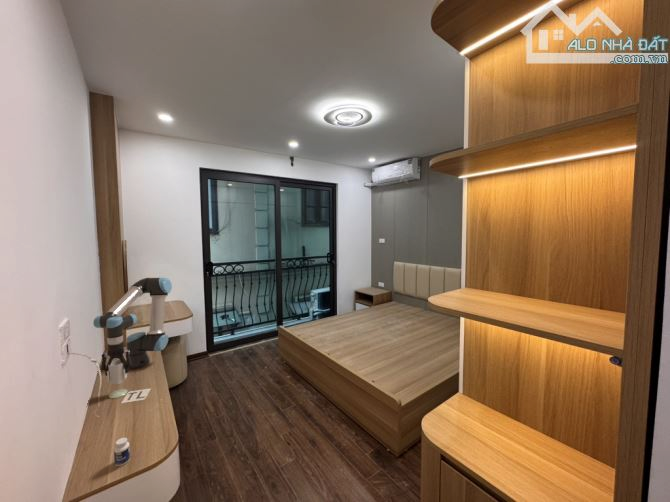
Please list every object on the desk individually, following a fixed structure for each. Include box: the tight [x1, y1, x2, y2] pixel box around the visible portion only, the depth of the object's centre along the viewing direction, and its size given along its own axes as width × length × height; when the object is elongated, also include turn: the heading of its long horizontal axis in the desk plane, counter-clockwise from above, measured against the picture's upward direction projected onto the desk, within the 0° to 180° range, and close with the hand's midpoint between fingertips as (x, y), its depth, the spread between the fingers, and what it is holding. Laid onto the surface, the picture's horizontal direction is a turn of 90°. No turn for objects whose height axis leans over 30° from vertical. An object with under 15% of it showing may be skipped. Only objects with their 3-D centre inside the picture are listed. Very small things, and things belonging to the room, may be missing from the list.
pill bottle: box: [113, 437, 131, 467], centre depth 120 cm, size 5×5×10 cm
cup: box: [107, 359, 125, 386], centre depth 168 cm, size 8×8×12 cm
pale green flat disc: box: [108, 388, 129, 400], centre depth 169 cm, size 9×9×1 cm
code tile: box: [120, 388, 152, 404], centre depth 168 cm, size 12×12×1 cm
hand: (117, 379), depth 168 cm, fingers closed on cup, 7 cm apart
